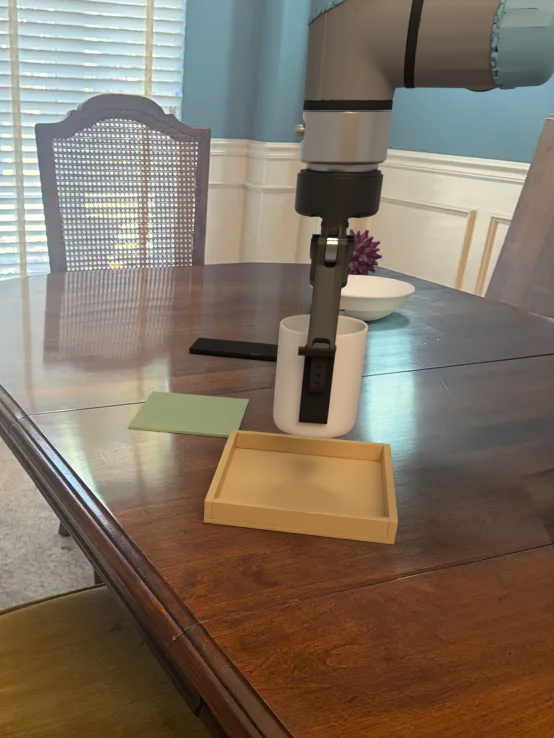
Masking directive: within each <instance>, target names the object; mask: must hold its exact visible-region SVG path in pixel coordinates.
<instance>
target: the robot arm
mask: <svg viewBox="0 0 554 738" xmlns="http://www.w3.org/2000/svg"><path fill="white" fill-rule="evenodd" d="M307 26H308V36H307V53H306V67H305V81H304V82H305V83H304V96H303V97H304V98H303V105H302V108H303V109H302V110H303V114H302V120H303V121H304V123H297V124H295V126H294V129H293V134H294V136H296V137H303V139H301V141H300V145H299V155H298V156H299V157H298V158H299V159H298V160H299V161H300V162H301V163H302V164H303V163H304V164H305V168H302V169H301V168H300V170H299V172H297V174H296V185H295V186H296V187H295V198H294V211H295V212H296V214H298V215H300V216H303V217H308V218H320V219H321V222H320V233H312V235H311V238H310V245H309V259H310V260H311V261H310V262H311V263H310V268H309V283H310V285H311V286H312V287H313V289H312V295H311V303H310V304H311V305H310V313H309V314H310V321H309V330H308V340H307V343H306V345H305V347H302V346H299V347H298V356H305V359H304V369H303V379H302V390H301V400H300V410H299V421H298V422H304V423H317V424H327V422H328V413H329V404H330V396H331V387H332V379H333V370H334V362H335V354H336V349H337V346H336V345H335V343H336V334H337V325H338V316H344V313H345V309H339V307H340V298H341V289H342V288H344V287H345V286H346V285H347V281H348V273H349V264H350V261H351V260H352V258H353V253H354V244H355V235H349V234H348V233H347V231H348V228H349V227H350V222H349V219H365V218H370V217H374V216H375V215H376V214H377V213H378V212H379V210H380V205H381V204H380V203H381V197H382V190H383V181H384V174H383V173H382V170H381V169H379V164H383V163H384V162H385V161H386V160H387V157H388V149H389V142H390V134H391V125H392V119H393V111H392V110H393V107H394V106H393V105H394V96H395V92H396V89H407V90H409V89H465V90H468V91H470V92H474V93H485V92H490V91H492V90H495V89H499V90H504V91H506V90H514V89H516V88H526V87H527V88H528V87H539V86H542V85H544V84H546V83H548V82H549V81H550V80H551V78H552V77H553V75H554V0H312V3H311V8H310V16H309V18H308V21H307ZM309 283H308V284H309ZM310 285H309V286H310ZM315 339H328V340H329V341H330V342H325V341H314V340H315Z"/></svg>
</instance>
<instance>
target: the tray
mask: <svg viewBox="0 0 554 738" xmlns="http://www.w3.org/2000/svg"><path fill="white" fill-rule="evenodd" d="M226 440H227V441H226V443H225V445H224V448H223V451H222V453H221V456H220V459H219V462H218V464H217V467H216V470H215V472H214V475H213V478H212V479H211V483H210V486H209V488H208V491H207V493H206V496H205V499H204V505H203V507H204V509H203V523H206V524H214V525H222V526H230V527H231V526H232V527H233V526H234V527H238V528H248V529H257V530H265V531H274V532H281V533H282V532H283V533H290V534H291V533H292V534H299V535H309V536H315V537H316V536H317V537H325V538H332V539H333V538H335V539H343V540H351V541H359V542H368V543H378V544H384V545H385V544H386V545H395V539H396V537H397V536H396V535H397V530H398V526H399V525H398V524H399V518H398V516H399V515H398V509H397V507H398V506H397V498H396V488H395V480H394V479H395V478H394V469H393V468H394V467H393V459H392V449H391V444H390V443H383V442H371V441H363V440H362V441H360V440H350V439H340V438H306V437H300V436H295V435H292V434H287V433H276V432H265V431H264V432H263V431H253V430H252V431H251V430H242V429H239V430H231V432H230V435H229V437H228V438H227V439H226Z"/></svg>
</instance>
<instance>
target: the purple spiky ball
mask: <svg viewBox="0 0 554 738" xmlns="http://www.w3.org/2000/svg"><path fill="white" fill-rule="evenodd" d="M369 233H370V230H369V229H365V230H364V232H362V233H361V230H357V231H356V233H355V232H354V229H353V228H352V229H351V228H350V229H349V233H348V235H355V244H354V253H353V258H352V260H351V261H350V264H349V273H348V275H365V276H370V275H369V272H370V273H373V274H375V273H376V269H375V267H377V266H378V265H379V262H378V261H377V260H379V259H380V260H381V259H382V257H383V255H382V254H379V253H378V252H380V251H381V248H380V247H378V246H379V245H380V244H381V240H378V241H373V240H374V238H375V237H374V236H372V235H369ZM374 266H375V267H374Z"/></svg>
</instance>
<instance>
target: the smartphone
mask: <svg viewBox="0 0 554 738" xmlns="http://www.w3.org/2000/svg"><path fill="white" fill-rule="evenodd" d="M188 352H189V353H191V354H202V355H212V356H221V357H222V356H223V357H233V358H241V359H242V358H243V359H253V360H263V361H264V360H265V361H277V355H278V344H275V343H265V342H255V341H253V342H252V341H241V340H232V339H221V338H209V337H198V338H197V339H196V340H194V342H193V343H192V344H191V346H190V347H189V348H188Z"/></svg>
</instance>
